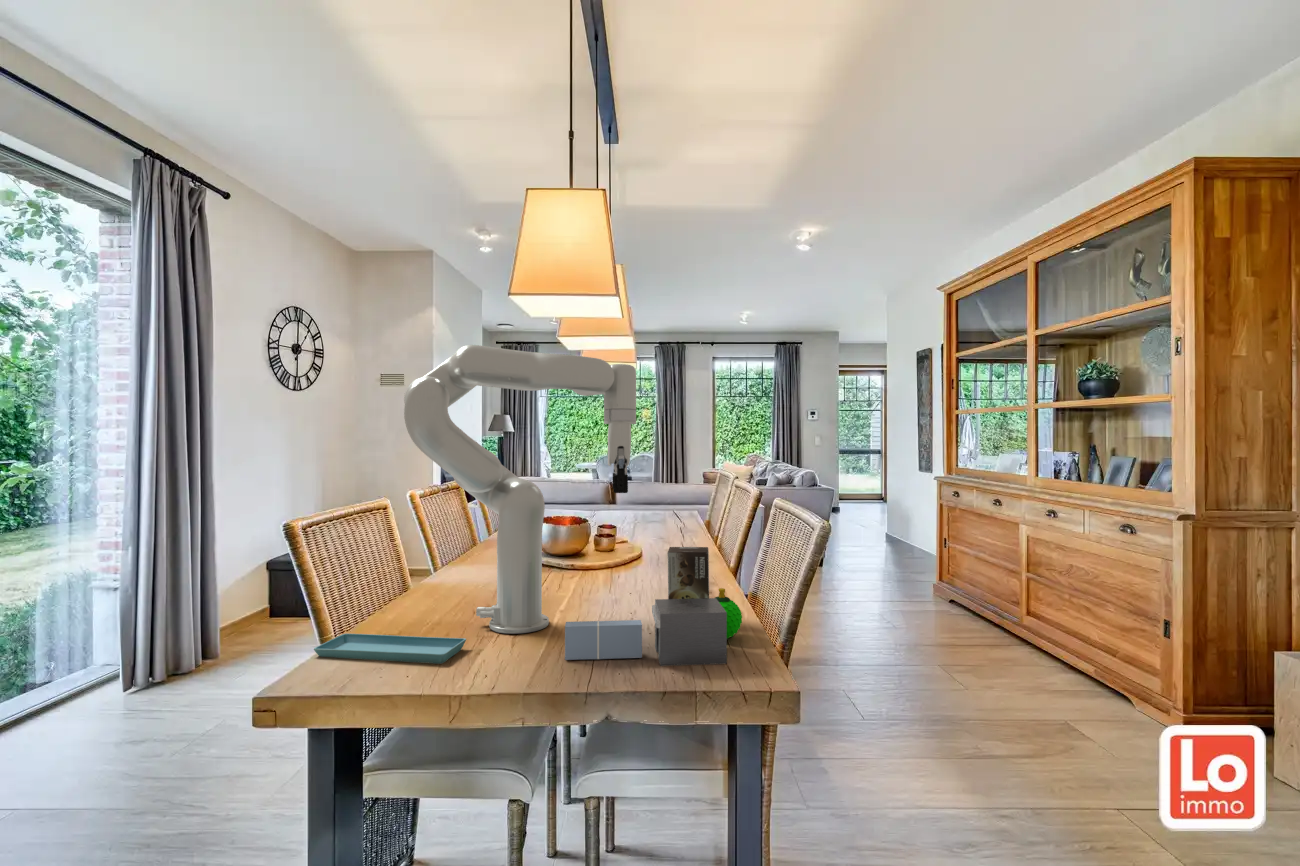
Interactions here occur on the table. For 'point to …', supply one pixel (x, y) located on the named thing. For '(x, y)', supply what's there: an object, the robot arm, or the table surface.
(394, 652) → the teal serving tray
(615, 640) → the blue-grey banded block
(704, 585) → the coffee box
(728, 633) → the ornament
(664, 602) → the dark grey box
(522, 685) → the table surface
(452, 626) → the table surface
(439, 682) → the table surface
